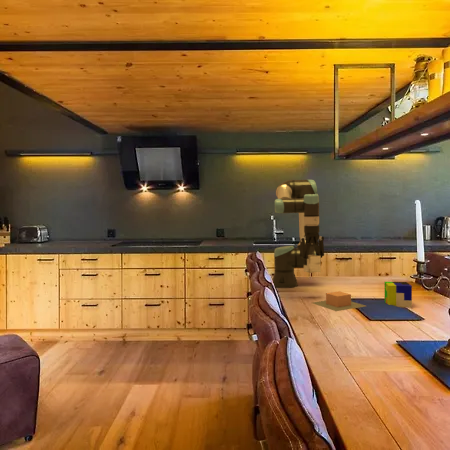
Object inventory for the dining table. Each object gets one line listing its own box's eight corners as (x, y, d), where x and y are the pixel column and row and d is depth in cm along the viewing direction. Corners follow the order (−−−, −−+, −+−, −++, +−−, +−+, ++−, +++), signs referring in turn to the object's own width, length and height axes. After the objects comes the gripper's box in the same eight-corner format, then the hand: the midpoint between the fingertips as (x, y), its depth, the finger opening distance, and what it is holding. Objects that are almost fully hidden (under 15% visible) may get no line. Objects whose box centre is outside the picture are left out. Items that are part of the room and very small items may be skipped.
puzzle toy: (411, 307, 186) (411, 286, 186) (388, 307, 188) (388, 285, 188) (406, 302, 196) (406, 281, 195) (384, 302, 198) (384, 281, 197)
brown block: (303, 271, 207) (303, 255, 206) (313, 270, 209) (313, 254, 209) (310, 273, 201) (310, 256, 201) (320, 271, 204) (320, 256, 203)
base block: (326, 303, 193) (325, 293, 193) (339, 301, 196) (339, 291, 196) (337, 307, 186) (337, 296, 185) (351, 305, 189) (350, 294, 189)
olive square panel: (311, 304, 195) (311, 302, 195) (340, 300, 203) (340, 298, 203) (336, 313, 179) (336, 311, 179) (367, 308, 187) (367, 306, 187)
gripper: (300, 226, 196) (301, 273, 198) (331, 224, 204) (332, 270, 206) (291, 225, 203) (292, 271, 205) (322, 223, 211) (322, 268, 212)
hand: (312, 270), depth 205 cm, fingers closed on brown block, 6 cm apart
